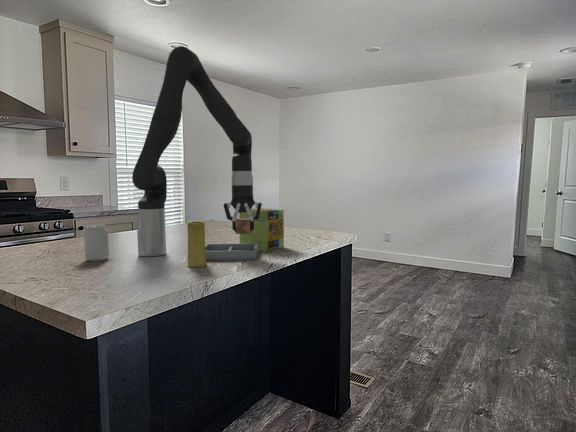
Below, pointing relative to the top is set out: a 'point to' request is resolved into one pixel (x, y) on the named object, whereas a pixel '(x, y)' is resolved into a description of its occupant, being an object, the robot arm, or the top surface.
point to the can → (96, 243)
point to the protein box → (265, 229)
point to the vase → (196, 244)
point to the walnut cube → (242, 225)
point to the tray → (231, 252)
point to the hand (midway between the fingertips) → (243, 231)
